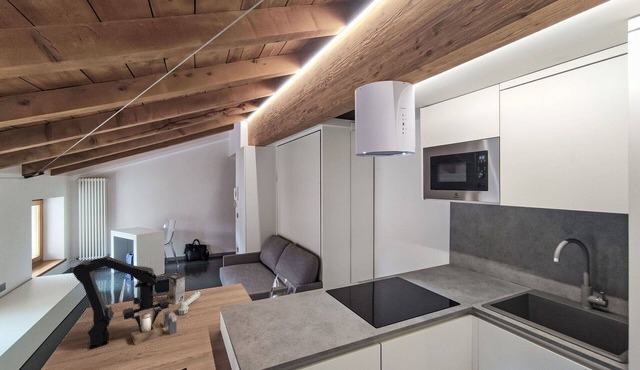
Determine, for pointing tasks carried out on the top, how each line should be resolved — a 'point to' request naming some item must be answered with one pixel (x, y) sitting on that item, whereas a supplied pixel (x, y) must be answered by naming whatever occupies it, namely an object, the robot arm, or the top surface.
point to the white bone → (188, 302)
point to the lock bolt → (172, 317)
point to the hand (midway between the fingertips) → (146, 325)
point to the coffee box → (176, 289)
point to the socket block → (146, 333)
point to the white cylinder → (145, 322)
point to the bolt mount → (169, 323)
